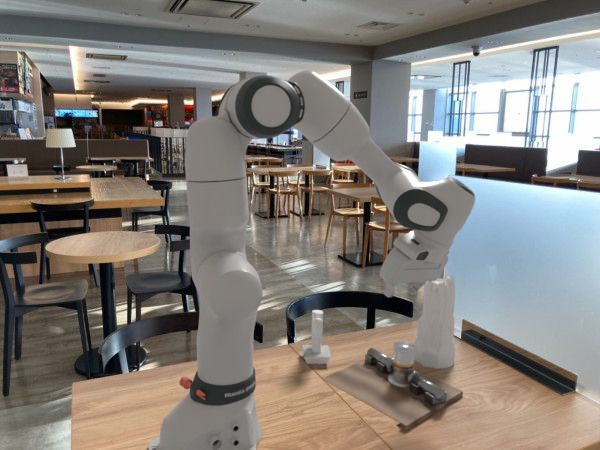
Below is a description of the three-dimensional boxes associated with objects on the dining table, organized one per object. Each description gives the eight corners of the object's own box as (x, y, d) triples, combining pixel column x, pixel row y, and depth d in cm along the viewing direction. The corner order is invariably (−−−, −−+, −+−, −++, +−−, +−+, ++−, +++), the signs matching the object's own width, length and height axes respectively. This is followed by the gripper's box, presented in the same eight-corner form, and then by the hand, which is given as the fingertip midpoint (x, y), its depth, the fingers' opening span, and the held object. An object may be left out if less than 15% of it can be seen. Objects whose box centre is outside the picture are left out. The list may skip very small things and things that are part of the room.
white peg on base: (327, 355, 136) (329, 304, 133) (331, 371, 127) (332, 317, 124) (302, 355, 136) (303, 304, 133) (303, 371, 127) (304, 317, 124)
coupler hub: (404, 386, 117) (406, 351, 115) (388, 378, 121) (389, 344, 119) (417, 379, 120) (419, 345, 119) (400, 372, 124) (402, 339, 122)
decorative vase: (406, 355, 137) (411, 270, 133) (435, 348, 142) (441, 266, 137) (431, 372, 127) (437, 281, 123) (462, 364, 132) (469, 276, 127)
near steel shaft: (405, 388, 116) (406, 373, 116) (419, 384, 119) (420, 368, 118) (433, 406, 109) (434, 390, 108) (447, 401, 111) (448, 385, 110)
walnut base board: (405, 430, 102) (406, 424, 102) (321, 382, 121) (321, 377, 121) (462, 395, 116) (463, 390, 116) (378, 357, 135) (379, 352, 135)
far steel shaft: (399, 372, 125) (400, 357, 124) (386, 376, 122) (387, 361, 122) (377, 358, 132) (377, 344, 131) (364, 361, 130) (364, 347, 129)
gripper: (441, 239, 119) (415, 284, 124) (391, 237, 105) (363, 288, 110) (461, 253, 115) (433, 299, 120) (411, 254, 101) (382, 306, 106)
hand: (399, 294), depth 115 cm, fingers open, 8 cm apart
